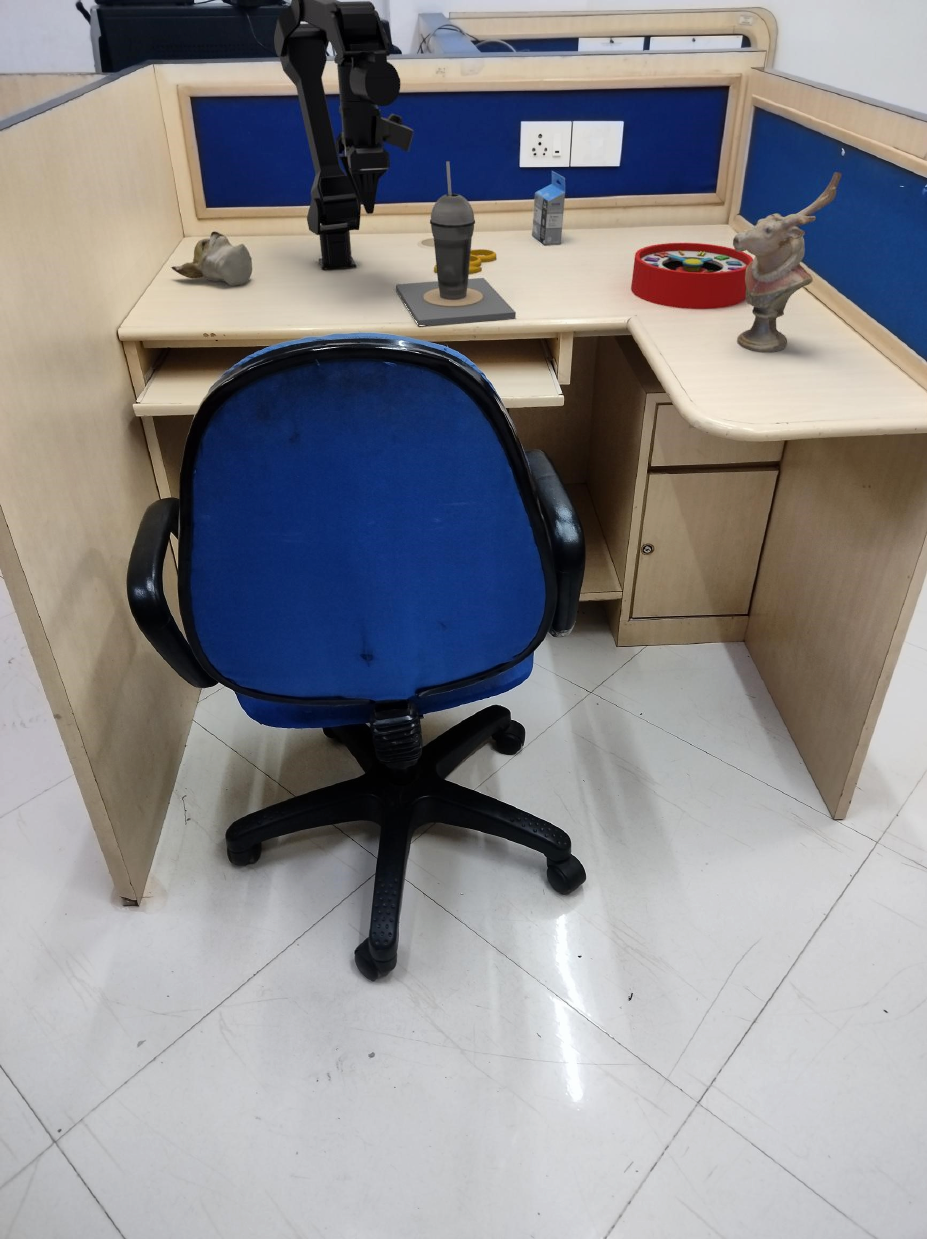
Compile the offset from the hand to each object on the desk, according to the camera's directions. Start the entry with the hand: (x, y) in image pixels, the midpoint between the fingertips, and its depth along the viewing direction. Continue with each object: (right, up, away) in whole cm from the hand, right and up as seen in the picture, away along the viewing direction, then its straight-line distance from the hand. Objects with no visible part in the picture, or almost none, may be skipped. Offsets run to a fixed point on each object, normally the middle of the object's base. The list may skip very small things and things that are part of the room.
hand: (365, 207), depth 142 cm
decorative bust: (+60, -28, -15) cm, 68 cm away
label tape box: (+34, +10, +34) cm, 49 cm away
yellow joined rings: (+17, -2, +20) cm, 26 cm away
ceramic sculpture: (-28, -8, +12) cm, 31 cm away
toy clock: (+56, -12, +6) cm, 58 cm away
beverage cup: (+15, -15, -1) cm, 21 cm away
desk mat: (+15, -16, 0) cm, 22 cm away
